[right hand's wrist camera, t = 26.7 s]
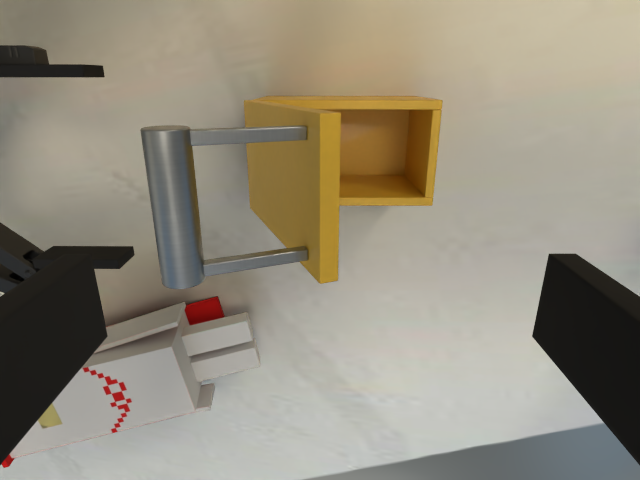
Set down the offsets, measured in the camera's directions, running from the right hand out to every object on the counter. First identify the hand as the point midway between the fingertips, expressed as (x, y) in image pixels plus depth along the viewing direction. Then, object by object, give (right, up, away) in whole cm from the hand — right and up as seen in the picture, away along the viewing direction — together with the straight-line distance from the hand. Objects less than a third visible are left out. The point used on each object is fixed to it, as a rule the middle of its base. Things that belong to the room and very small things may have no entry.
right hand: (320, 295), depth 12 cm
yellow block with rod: (-2, +6, +17) cm, 18 cm away
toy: (-23, -11, +43) cm, 50 cm away
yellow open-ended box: (+2, +13, +34) cm, 36 cm away
